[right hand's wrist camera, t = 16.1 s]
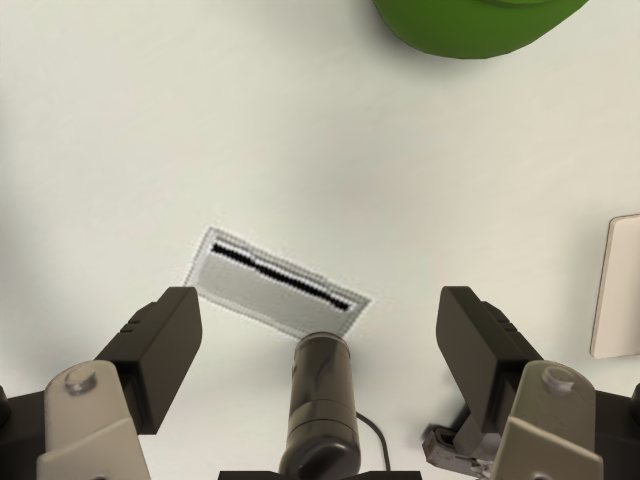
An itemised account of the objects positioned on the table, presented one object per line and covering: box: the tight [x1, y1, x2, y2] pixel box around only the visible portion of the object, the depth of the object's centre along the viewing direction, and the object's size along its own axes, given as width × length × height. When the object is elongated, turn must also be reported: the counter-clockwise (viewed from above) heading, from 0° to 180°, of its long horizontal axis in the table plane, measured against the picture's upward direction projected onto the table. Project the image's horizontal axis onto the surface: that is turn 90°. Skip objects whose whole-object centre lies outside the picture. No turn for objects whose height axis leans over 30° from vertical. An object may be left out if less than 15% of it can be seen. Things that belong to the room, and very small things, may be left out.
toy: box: [422, 413, 501, 480], centre depth 58 cm, size 25×20×15 cm
